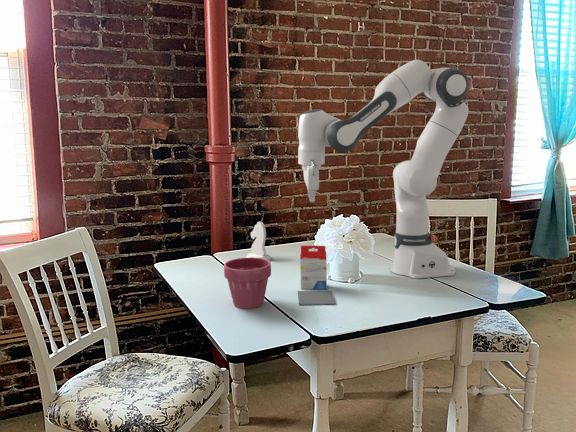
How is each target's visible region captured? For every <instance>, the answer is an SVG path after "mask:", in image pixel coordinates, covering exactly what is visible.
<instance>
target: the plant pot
mask: <svg viewBox="0 0 576 432" xmlns="http://www.w3.org/2000/svg"><path fill="white" fill-rule="evenodd" d="M271 275H272V265H271V260H269V261H268V260H266V259H262V258H246V257H239V258H233V259H230V260H228V261H226V262H225V263H224V265H223V276H224V278H225V279H226V280H227V283H228V287H229V291H230V295H231V299H232V303H233V305H234V306H235V307H237V308H241V309H256V308H259V307H261V306H263V304H264V303H265V296H266V293H267V292H266V290H267V285H268V280H269V278H270V277H271Z"/></svg>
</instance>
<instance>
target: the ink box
mask: <svg viewBox="0 0 576 432" xmlns="http://www.w3.org/2000/svg"><path fill="white" fill-rule="evenodd" d="M312 249H314V250H312ZM326 249H327V247H326V245H303V244H302V245H300V254H299V258H300V260H299V261H300V262H299V263H300V268H299V269H300V289H302V290H326V289H327V286H328V285H327V280H328V279H327V268H328V267H327V250H326Z"/></svg>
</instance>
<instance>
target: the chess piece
mask: <svg viewBox="0 0 576 432" xmlns="http://www.w3.org/2000/svg"><path fill="white" fill-rule="evenodd" d="M265 226H266V225H265V223H263V222H262V221H257V223H256V224H255V225H254V228H253V229H252V231H251V232H250V237H251V239H252V240H254V239H255V240H254V241H253V242H252V244H251V248H250V251H251V252H249V253H247V255H246V257H245V258H262V259H266V260H268V261H271V260H272V257H271V255H270V254H269V253H268V252H267V251H266V248H265V244H266V238H267V231H266V230H267V229H266V227H265Z"/></svg>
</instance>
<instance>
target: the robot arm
mask: <svg viewBox="0 0 576 432" xmlns="http://www.w3.org/2000/svg"><path fill="white" fill-rule="evenodd" d="M469 85H470V82H469V78H468V76H467V73H465V72H464V71H463V70H461V69H458V68H455V67H440V68H430V67H429V65H428V64H427V63H426V62H425V61H423V60H421V59H413V60H411V61H409V62H407V63H405V64H403V65H401V66H400V67H398V68H397V69H394V70H393V71H392V72H391V73H389V74H388V75H387V76H385V78H383V79H382V80H381V81H380V82H379V83H378V84H377V86H376V87H375V89H374V96H373V97H372V100H371V101H370V102H369V103H368V104H366V105H365V106H364V107H363V108H362V109H360V110H359V111H358V112H357V113H355V114H354V115H353V116H351V117H349V118H347V119H340V118H337V117H335V116H332V115H330V114H328V113H327V112H325V111H324V110H323V109H320V108H317V109H311V110H306V111H303V112H302V113H301V114H300V115H299V119H298V128H297V129H298V130H297V132H298V133H297V135H298V136H297V139H298V143H299V144H298V148H297V149H298V152H297V154H298V155H297V156H298V157H297V158H298V162H297V163H298V165H300V166H301V169H302V172H303V173H302V174H303V180H304V184H305V186H306V189H307V198H308V199H309V202H310V203H315V202H316V192H317V191H319V188H320V171H319V170H321V168H322V166H323V165H325V164H326V163H325V162H326V161H325V159H326V158H325V157H326V156H325V154H326V147H330V148H331V149H332V150H333V151H335V152H338V153H349V152H350V151H352V150H353V149H355V148H356V147H357V145H358V143H360V141H361V139H362V138H363V135H364V134H365V133H366V132H367V131H368V130H370V129H371V128H372V127H373V126H375V125H376V124H377V123H378V122H380V121H381V120H383V118H385V117H387V115H388V114H390V113H392V112H394V111H396V110H398V109H400V108H401V107H403V106H404V105H406V104H407V103H409V102H410V101H411V100H412V99H414V98H415V97H416V96H418V95H422V96H424V97H425V98H426V99H428V100H431V101H434V102H435V110H434V113H433V114H432V115H431V117H430V119H429V120H428V122H427V124H426V126H425V128H424V129H423V131H422V132H421V134H420V136H419V137H418V139H417V142H416V146H415V149H414V151H413V155H412V157H411V159H409V160H404V161H401V162H400V163H397V164H396V165H395V167H394V169H393V171H392V178H393V184H394V185H393V186H394V187H393V188H394V197H395V206H396V209H395V210H396V217H395V218H396V219H395V220H396V223H395V231H394V237H393V240H394V241H393V246H394V253H393V258H392V259H393V260H392V262H391V266H390V269H389V270H390V272H392V273H394V274H396V275H400V276H406V277H409V278H412V279H426V278H437V277H439V278H440V277H449V276H452V277H453V276H455V275H456V269H455V268H454V267H453V266H452V265H451V264H450V263H449V258H448V254H447V253H446V252H445V251H443V249H441V248H440V247H439V246H438V245H436V244H435V243H436V242H437V241H438V237H437V236H436V235H435V234H432V233H430V232H429V216H430V214H429V212H430V211H429V207H428V203H427V196H429V195H431V194H432V193H433V192H434V191H435V190H436V189H437V184H438V178H439V175H440V173H441V170H442V168H443V164H444V161H445V160H446V158H447V156H448V154H449V152H450V150H451V149H452V147H453V145H454V143H455V142H456V140H457V138H458V137H459V135H460V133H461V131H462V130H463V127H464V125H465V123H466V121H467V118H468V115H469V111H470V110H469V107H468V106H467V104H466V103H465V101H466V100H467V94H468V90H469ZM434 242H435V243H434Z"/></svg>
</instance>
